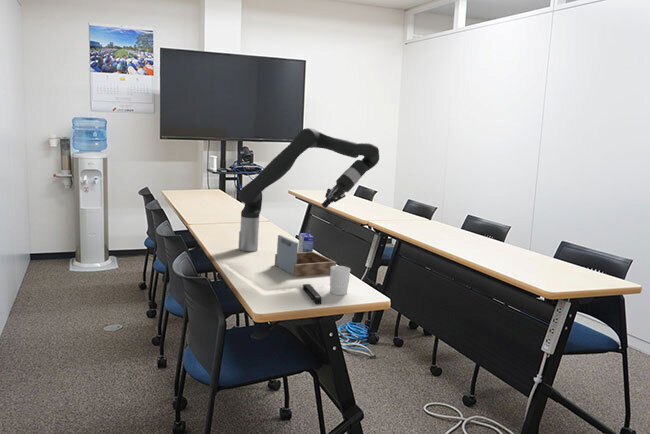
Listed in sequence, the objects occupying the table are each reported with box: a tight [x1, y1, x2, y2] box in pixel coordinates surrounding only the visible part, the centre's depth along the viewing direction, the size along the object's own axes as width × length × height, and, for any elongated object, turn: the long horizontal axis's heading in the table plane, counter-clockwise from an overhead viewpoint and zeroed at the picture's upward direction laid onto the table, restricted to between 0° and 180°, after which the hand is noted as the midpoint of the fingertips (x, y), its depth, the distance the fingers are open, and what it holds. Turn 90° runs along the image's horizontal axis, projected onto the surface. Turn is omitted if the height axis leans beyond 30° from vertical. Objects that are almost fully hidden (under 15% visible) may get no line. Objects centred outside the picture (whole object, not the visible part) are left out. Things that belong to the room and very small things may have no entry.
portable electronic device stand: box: [302, 283, 323, 305], centre depth 200 cm, size 18×3×3 cm, turn 17°
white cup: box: [329, 265, 351, 296], centre depth 207 cm, size 8×8×10 cm
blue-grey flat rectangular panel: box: [275, 234, 299, 276], centre depth 227 cm, size 2×17×14 cm, turn 31°
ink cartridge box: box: [297, 229, 315, 253], centre depth 256 cm, size 10×6×14 cm, turn 15°
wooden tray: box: [274, 251, 337, 278], centre depth 233 cm, size 20×20×6 cm
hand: (323, 206), depth 233 cm, fingers closed
